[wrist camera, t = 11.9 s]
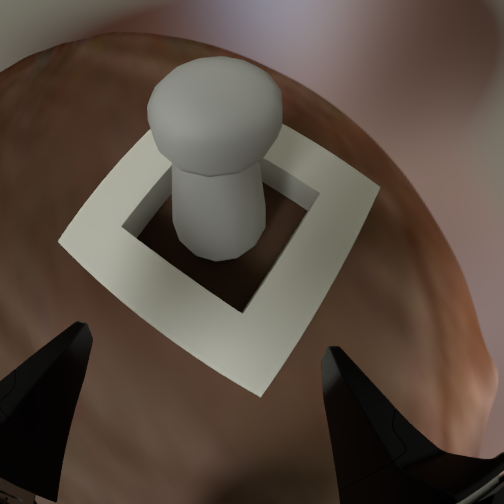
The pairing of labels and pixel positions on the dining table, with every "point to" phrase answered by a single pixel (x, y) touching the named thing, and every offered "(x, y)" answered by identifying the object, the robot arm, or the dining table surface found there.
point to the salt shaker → (216, 150)
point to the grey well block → (197, 297)
